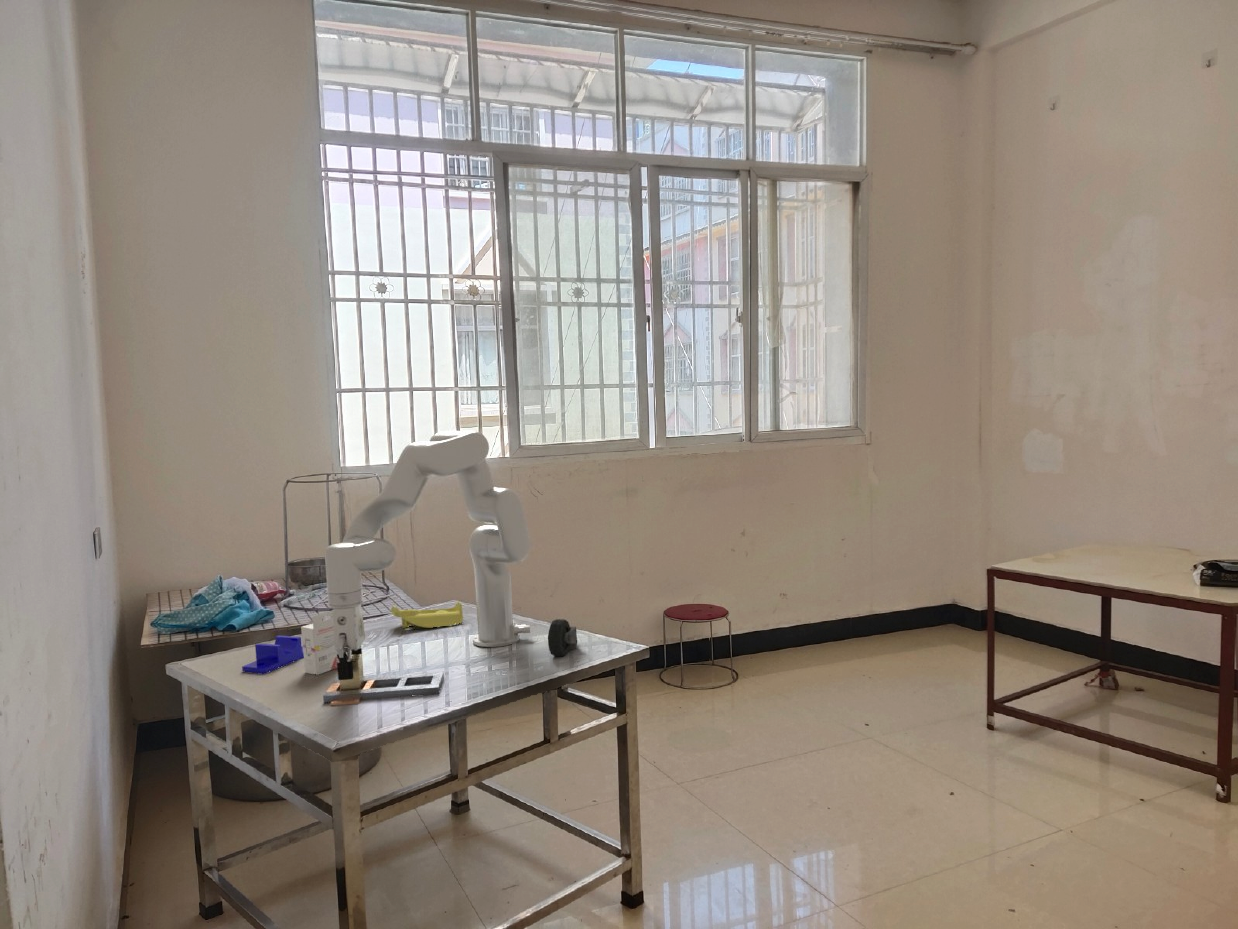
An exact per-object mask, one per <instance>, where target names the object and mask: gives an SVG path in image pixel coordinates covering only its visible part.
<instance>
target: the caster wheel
mask: <svg viewBox="0 0 1238 929" xmlns="http://www.w3.org/2000/svg"><path fill="white" fill-rule="evenodd" d="M547 641H548V642H547V645H548V651H549V653H550V654H551V655H552V656H554V657H565V656H566V655H567V654H568V652H569V651H570V650H575V649H577V647H578V634H577V626H570V624H569V621H568V620H566V619H563V618H562V619H559V618H557V619H554V620H552V622H551V623H550V625H549V630H548V635H547Z"/></svg>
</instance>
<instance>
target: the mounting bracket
mask: <svg viewBox="0 0 1238 929" xmlns="http://www.w3.org/2000/svg"><path fill="white" fill-rule="evenodd" d="M254 648H255V661H252V662H250V663H247V664H245V665H243V666H241V668H242V670H241V672H242V671H245V672H244V673H247V672H252V673H251V674H258V673H262V675H267V674H268V673H267V672H269V671H271V672H273V670H274V671H275V669H276V670H278V669H279V668H278V667H280V668H282V667H281V666H283V665H285V666H287V665H289V663H290V664H291V662H292V663H294V662H296V661H298V660H302V659H304V654H303V645H302V636H292V635H291V636H290V635H277V636H275V641H274V643H273V644H272V643H259V642H258V643H256V644H255V645H254ZM293 661H294V662H293ZM286 664H287V665H286ZM283 667H284V666H283ZM277 668H278V669H277ZM264 673H265V674H264ZM266 673H267V674H266ZM269 673H270V672H269Z"/></svg>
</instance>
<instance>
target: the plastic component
mask: <svg viewBox="0 0 1238 929" xmlns="http://www.w3.org/2000/svg"><path fill="white" fill-rule="evenodd" d="M390 611H391V613H392V615H393V616H395V618H400V619H401V626H402V628H404V629H406V627H408V626H413V627H414V626H417V627H420V628H429V629H433V627H437V628H439V627H438V626H449V627H451V626H450V625H454V624H455V623H456V624H459V623H460V624H461V623H463V620H464V615H463V607H462V602H461V601H459V602H457V603H456V605H455V606H454V607H449V608H439V609H438V608H437V609H435V608H433V609H423V610H422V609H420V610H418V609H414V608H413V609H408V608H403V609H400V610H399V608H398V607H397V606H396V605H394V606H391V609H390ZM460 624H459V625H460ZM408 628H409V627H408Z"/></svg>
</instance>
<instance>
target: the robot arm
mask: <svg viewBox="0 0 1238 929" xmlns="http://www.w3.org/2000/svg"><path fill="white" fill-rule="evenodd" d="M489 451H490V445H489V441H488V439H487V438H486V437H485V435H484V434H482V433H481V432H479V431H475V430H461V431H460V430H449V431H448V430H446V431H445V430H444V431H439V432H436V433H434V434H433V435H432V436H431V437H430V440H429V441H419V442H418V441H417V442H412V443H409V444H408V445H406V446H405V447H404V448H403V450H402V452H401V453H400V455H399V457H398V459H397V460H396V463H395V465H394V466H393V469H392V470H391V472H390V475H389V477H388V478H387V481H386V483H385V485H384V487H383V489H382V490H381V492H380V493H379V495H377V496H376V497H375V498H374V499H373V500H371V501H370V502H369V503H368V504H367V505H366V506H365V507H364V508H363V509H362V510H361V511H359V513H358V514H357V515H356V516H355V517H354V519H353V520H352V522H351V523H350V526H349V527H348V529H347V530H346V533H345V535H344V537H343V538H342V541H341V542H340V543H334V544H330V545H328V546H326V548H325V549H324V563H325V577H326V592H327V603H328V608H330V609H332V610H333V632H334V645H335V650H336V651H337V653H338V654H337V668H336V669H337V680H349V679H353V677H354V676H353V662H352V661H351V655H354V654H362V655H363V652H362V650H363V648H362V645H363V643H364V641H365V640H366V634H365V626H364V623H365V622H364V617H363V609H362V604H364V592H363V580H362V574H363V573H370V572H381V571H384V570H387V569H388V568H391V566H392V565H393V564H394V562H395V561H396V557H397V550H396V547H395V546H394V544H393V543H392V542H390V541H389V540H386V539H384V538H379V537H376V536H377V534H378V533H379V532H380V531H381V529H383V527H384V526H386V525H387V524H389V523H390V522H392V521H393V520H395V519H398V518H400V517H402V516H404V515H406V514H408V513H410V512H411V511H413V510H414V508H415V507H416V505H417V503H418V501H419V499H420V496H421V494H422V492H423V490H424V488H425V486H426V484H427V482H428V480H429V479H430V478H431V477H433V478H441V477H449V476H452V475H454V474H455V475H456V476H457V479H458V482H459V484H460V488H461V493H462V496H463V497H462V498H463V502H464V507H465V510H466V513H467V515H468V518H469V519H470V520H471V521H473V522H475V523H478V524H479V523H480V524H485V525H481V526H477V527H476V528H475V529H474V530H473V531H472V533H471V534H470V537H469V539H468V540H469V541H468V548H469V554H470V557H471V560H472V566H473V570H474V571H473V572H474V573H473V574H474V585H475V601H476V603H475V604H476V617H477V619H476V620H477V633H478V634H476V635H475V636H473V637H472V643H473V645H475V646H478V647H484V648H495V647H497V648H498V647H504V646H509V645H513V644H515V643H517V642H518V641H519V640H520V634H530V633H531V628H530V626H531V625H526V624H521V625H519V624H515V620H514V618H513V616H514V615H513V597H512V580H511V579H512V578H511V572H510V569H509V566H508V564H518V563H522V562H523V561H525V560H526V559H527V558H528V556H529V555H530V554H529V553H530V550H531V537H530V532H529V528H528V523H527V518H526V514H525V509H524V505H523V502H522V499H521V498H520V497H519V496H520V495H518V494H517V492H515V490H513V489H510V488H505V487H496V486H495V484H494V479H493V477H492V472H491V470H490V469H491V468H490V467H489V464H488V462H487V460H486V459H487V457H488V456H489ZM347 655H348V656H347ZM362 662H363V660H362ZM363 663H364V662H363Z"/></svg>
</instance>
